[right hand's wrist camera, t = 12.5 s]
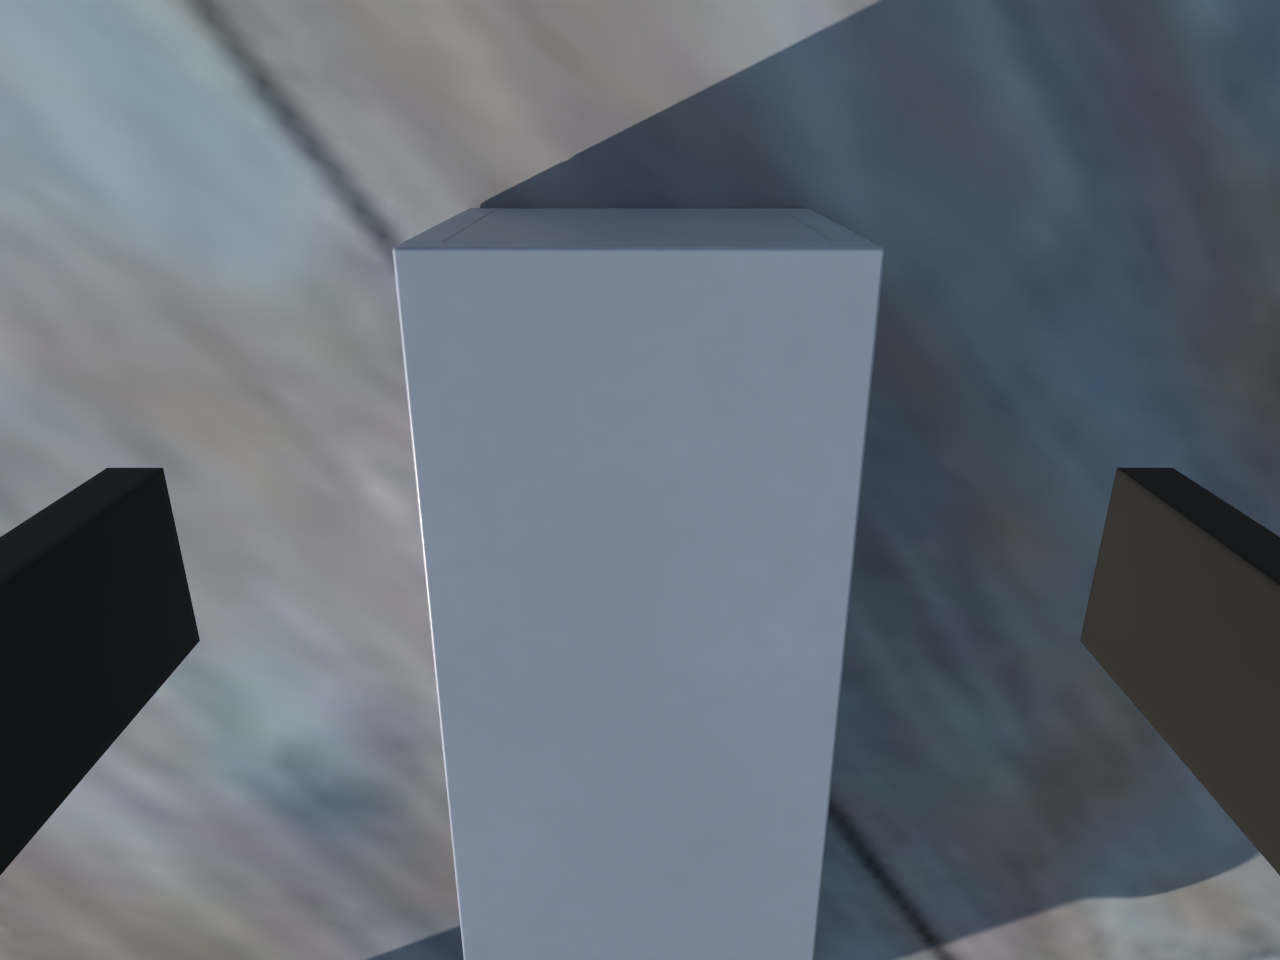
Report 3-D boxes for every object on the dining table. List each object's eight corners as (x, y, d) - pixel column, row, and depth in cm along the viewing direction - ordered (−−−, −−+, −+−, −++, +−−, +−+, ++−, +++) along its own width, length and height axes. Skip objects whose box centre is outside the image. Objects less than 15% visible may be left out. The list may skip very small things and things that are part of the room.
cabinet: (771, 763, 33) (813, 968, 25) (506, 763, 33) (463, 968, 25) (810, 208, 25) (886, 247, 17) (468, 208, 25) (391, 246, 17)
